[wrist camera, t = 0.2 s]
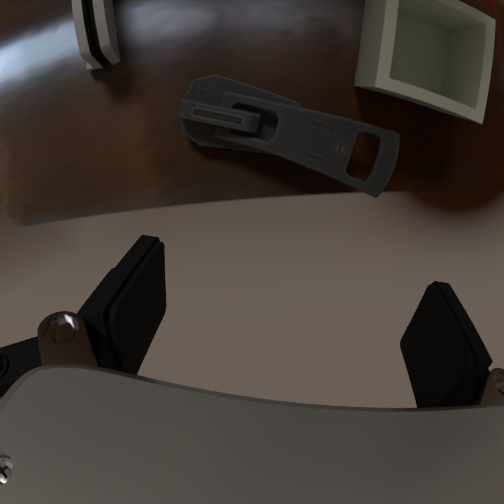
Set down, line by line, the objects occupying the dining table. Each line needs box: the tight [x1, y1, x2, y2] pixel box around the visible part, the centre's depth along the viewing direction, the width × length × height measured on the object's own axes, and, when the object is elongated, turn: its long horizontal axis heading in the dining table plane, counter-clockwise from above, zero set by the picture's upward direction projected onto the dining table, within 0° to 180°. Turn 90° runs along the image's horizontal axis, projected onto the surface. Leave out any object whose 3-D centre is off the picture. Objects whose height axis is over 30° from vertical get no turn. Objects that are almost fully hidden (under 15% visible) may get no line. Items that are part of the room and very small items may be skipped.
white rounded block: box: [72, 0, 121, 71], centre depth 27 cm, size 17×5×10 cm, turn 8°
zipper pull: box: [178, 75, 400, 197], centre depth 34 cm, size 9×7×25 cm
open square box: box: [354, 0, 495, 124], centre depth 26 cm, size 12×12×10 cm
